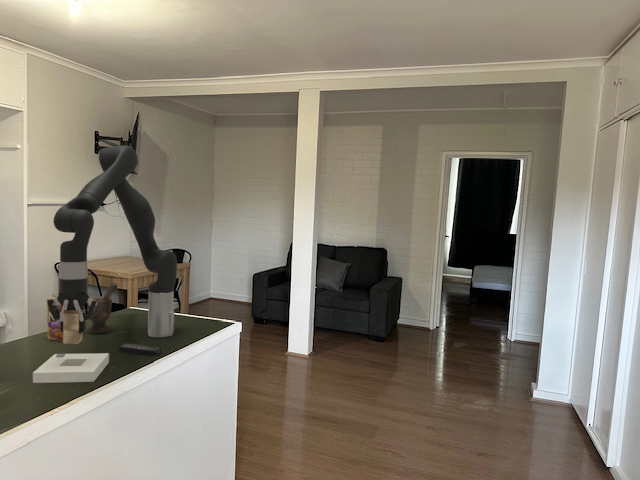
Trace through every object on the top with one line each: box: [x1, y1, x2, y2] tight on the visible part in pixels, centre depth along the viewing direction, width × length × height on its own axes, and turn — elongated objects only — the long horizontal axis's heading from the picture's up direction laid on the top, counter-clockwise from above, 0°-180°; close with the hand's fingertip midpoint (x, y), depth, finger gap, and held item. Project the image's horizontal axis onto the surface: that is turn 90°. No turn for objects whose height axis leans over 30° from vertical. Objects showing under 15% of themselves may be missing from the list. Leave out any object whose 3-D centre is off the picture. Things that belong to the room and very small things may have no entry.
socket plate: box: [32, 352, 110, 384], centre depth 139 cm, size 16×16×4 cm
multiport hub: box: [118, 342, 163, 357], centre depth 160 cm, size 4×14×2 cm, turn 76°
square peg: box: [62, 308, 83, 345], centre depth 138 cm, size 4×4×10 cm
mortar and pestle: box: [86, 282, 119, 335], centre depth 180 cm, size 12×9×20 cm
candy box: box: [46, 296, 63, 343], centre depth 169 cm, size 9×4×15 cm, turn 72°
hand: (72, 332), depth 139 cm, fingers closed on square peg, 4 cm apart
